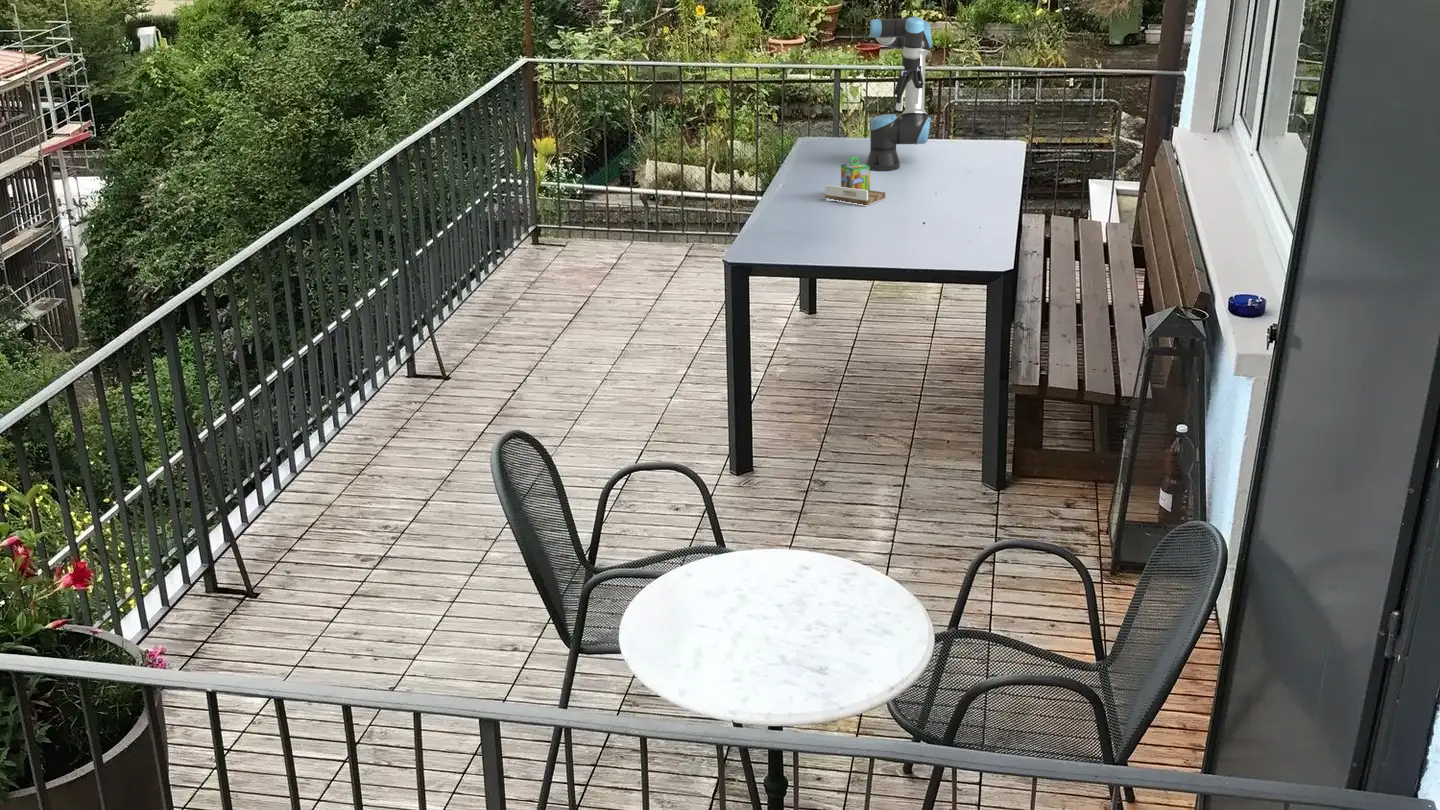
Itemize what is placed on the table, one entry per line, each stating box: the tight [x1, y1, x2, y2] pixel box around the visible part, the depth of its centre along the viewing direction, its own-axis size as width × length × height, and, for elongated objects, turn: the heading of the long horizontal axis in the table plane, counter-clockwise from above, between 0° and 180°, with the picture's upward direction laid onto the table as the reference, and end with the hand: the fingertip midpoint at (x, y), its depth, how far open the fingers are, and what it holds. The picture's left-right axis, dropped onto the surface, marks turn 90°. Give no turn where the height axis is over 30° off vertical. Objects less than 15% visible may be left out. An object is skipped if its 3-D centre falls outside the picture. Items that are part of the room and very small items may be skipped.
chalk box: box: [840, 155, 871, 193], centre depth 564 cm, size 9×9×15 cm
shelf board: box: [824, 184, 886, 206], centre depth 564 cm, size 15×20×6 cm
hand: (907, 106), depth 572 cm, fingers open, 13 cm apart
